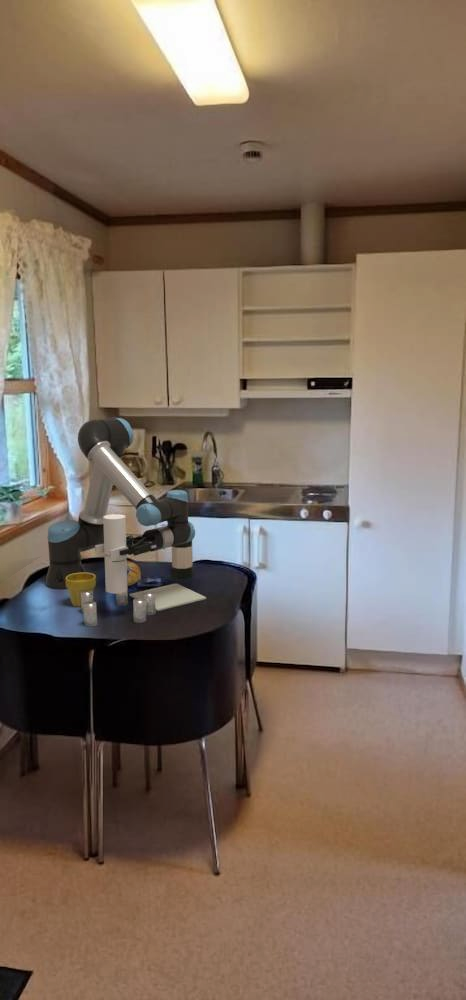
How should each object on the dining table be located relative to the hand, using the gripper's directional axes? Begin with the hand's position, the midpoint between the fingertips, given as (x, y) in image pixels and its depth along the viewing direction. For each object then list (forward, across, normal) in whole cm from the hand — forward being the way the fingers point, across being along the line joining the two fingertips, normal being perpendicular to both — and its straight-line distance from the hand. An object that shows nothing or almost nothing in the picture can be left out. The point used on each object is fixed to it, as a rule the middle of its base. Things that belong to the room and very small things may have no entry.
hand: (103, 552), depth 217 cm
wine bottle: (-48, +15, -23) cm, 55 cm away
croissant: (-31, +27, -23) cm, 47 cm away
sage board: (-27, 0, -22) cm, 35 cm away
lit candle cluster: (-4, -1, -22) cm, 23 cm away
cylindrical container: (-5, 0, -14) cm, 15 cm away
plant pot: (-3, +18, -23) cm, 29 cm away
